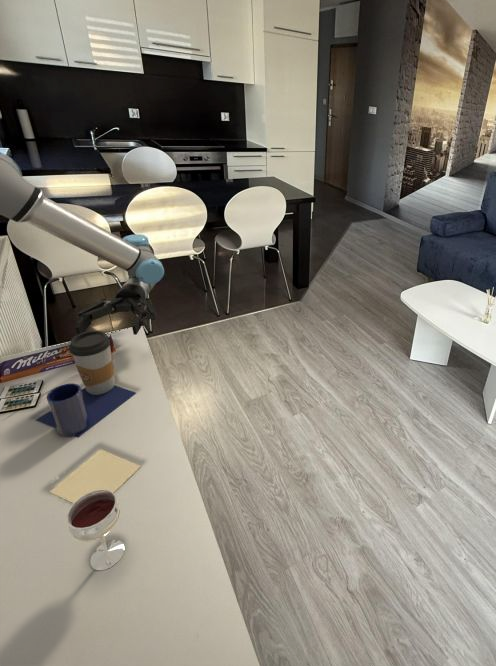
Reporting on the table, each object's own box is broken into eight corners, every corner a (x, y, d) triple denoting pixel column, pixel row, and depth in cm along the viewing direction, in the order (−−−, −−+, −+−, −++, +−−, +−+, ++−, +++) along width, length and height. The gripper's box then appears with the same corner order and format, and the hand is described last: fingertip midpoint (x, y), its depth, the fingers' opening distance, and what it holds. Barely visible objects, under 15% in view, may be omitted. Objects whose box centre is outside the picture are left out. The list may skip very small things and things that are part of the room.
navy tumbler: (52, 431, 88) (39, 397, 84) (77, 413, 93) (66, 380, 89) (72, 440, 87) (60, 405, 82) (96, 421, 92) (87, 387, 87)
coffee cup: (73, 392, 99) (58, 343, 93) (102, 373, 107) (90, 326, 100) (99, 402, 97) (86, 352, 91) (127, 381, 104) (116, 334, 98)
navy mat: (35, 420, 91) (35, 420, 91) (98, 379, 105) (97, 379, 105) (78, 438, 87) (78, 437, 87) (136, 393, 101) (136, 392, 101)
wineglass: (80, 583, 63) (62, 536, 57) (86, 543, 68) (69, 497, 63) (129, 565, 66) (115, 519, 60) (131, 528, 71) (118, 483, 66)
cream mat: (49, 492, 76) (49, 491, 76) (100, 449, 85) (100, 449, 85) (93, 513, 73) (93, 512, 73) (141, 466, 82) (140, 466, 82)
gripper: (177, 304, 128) (159, 341, 109) (91, 305, 123) (57, 344, 104) (174, 283, 124) (154, 317, 106) (86, 284, 120) (49, 320, 101)
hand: (106, 331), depth 105 cm, fingers open, 13 cm apart
